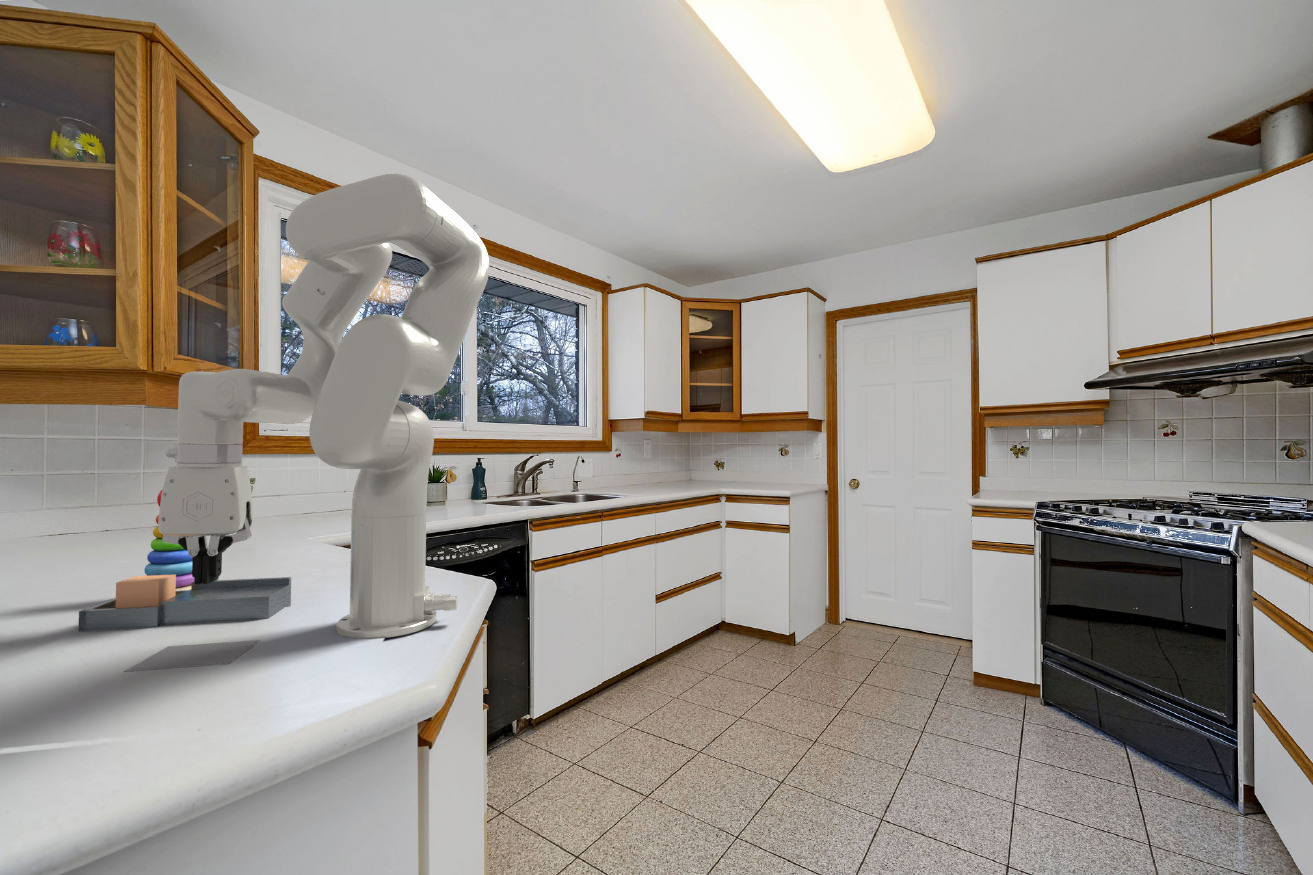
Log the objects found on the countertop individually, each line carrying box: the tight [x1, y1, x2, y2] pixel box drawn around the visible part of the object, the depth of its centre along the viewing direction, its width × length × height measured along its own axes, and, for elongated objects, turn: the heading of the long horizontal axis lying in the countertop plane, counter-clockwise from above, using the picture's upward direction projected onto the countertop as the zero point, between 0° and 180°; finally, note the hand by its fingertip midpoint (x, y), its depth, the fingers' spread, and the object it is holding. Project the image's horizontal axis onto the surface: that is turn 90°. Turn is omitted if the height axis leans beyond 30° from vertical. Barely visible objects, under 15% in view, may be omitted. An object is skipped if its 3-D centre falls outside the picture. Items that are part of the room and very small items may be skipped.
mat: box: [122, 639, 262, 673], centre depth 65 cm, size 10×8×1 cm
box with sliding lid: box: [77, 576, 292, 632], centre depth 81 cm, size 22×10×4 cm, turn 104°
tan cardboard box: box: [115, 575, 176, 608], centre depth 79 cm, size 5×4×5 cm
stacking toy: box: [143, 488, 194, 591], centre depth 92 cm, size 8×8×19 cm
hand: (206, 581), depth 81 cm, fingers closed
